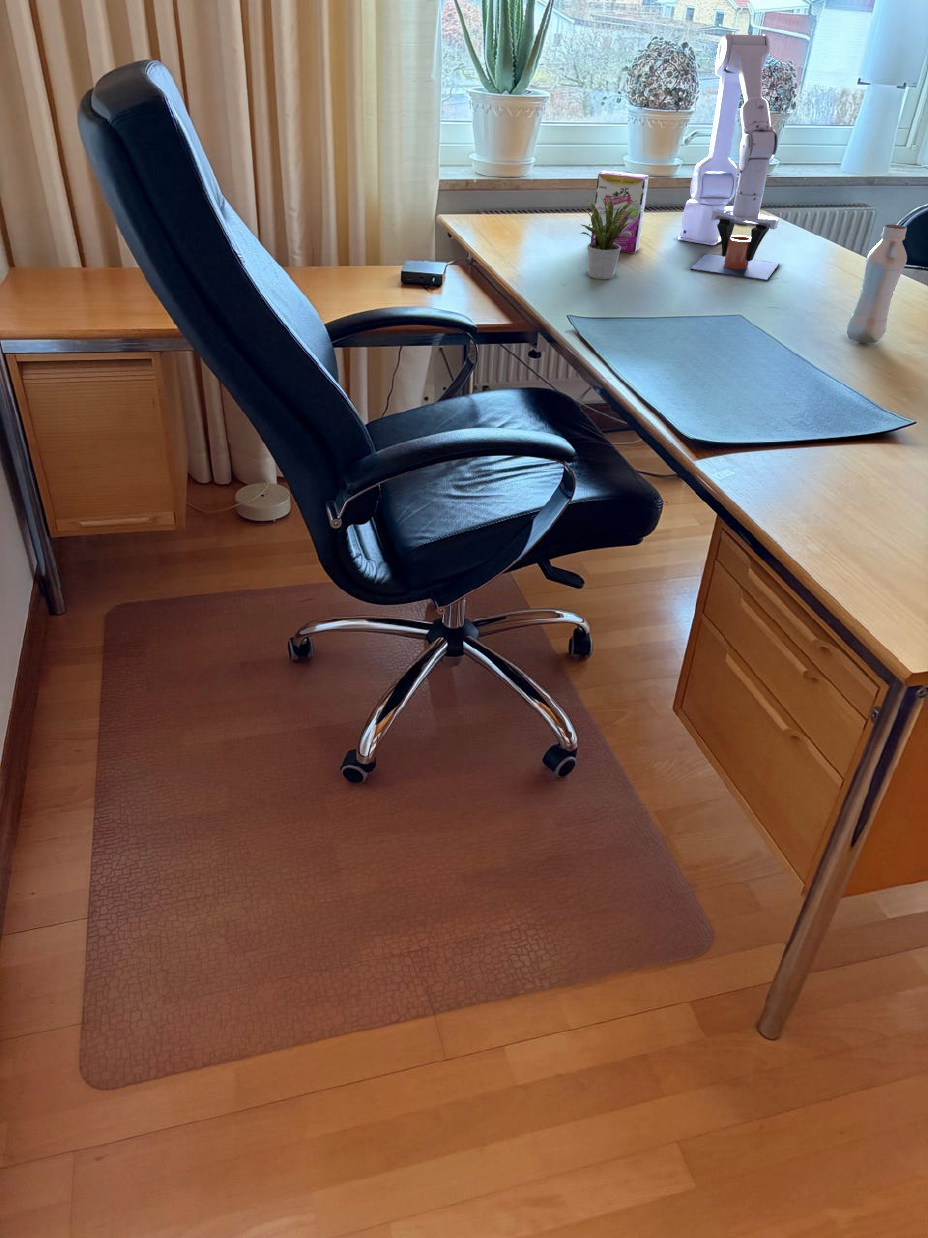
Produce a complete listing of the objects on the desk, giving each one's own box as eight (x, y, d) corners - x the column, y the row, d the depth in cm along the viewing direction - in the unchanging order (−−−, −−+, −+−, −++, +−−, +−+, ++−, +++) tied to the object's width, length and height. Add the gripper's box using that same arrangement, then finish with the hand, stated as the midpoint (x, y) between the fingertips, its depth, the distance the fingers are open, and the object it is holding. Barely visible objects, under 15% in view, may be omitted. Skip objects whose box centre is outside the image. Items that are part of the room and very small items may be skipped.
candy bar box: (589, 248, 219) (596, 173, 209) (593, 243, 222) (601, 169, 213) (635, 253, 216) (645, 177, 206) (639, 248, 220) (649, 174, 210)
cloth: (690, 269, 206) (690, 268, 206) (706, 254, 217) (706, 253, 217) (766, 280, 200) (766, 279, 200) (778, 264, 211) (779, 263, 211)
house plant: (647, 272, 203) (658, 193, 193) (629, 288, 193) (640, 205, 183) (586, 263, 208) (594, 185, 198) (565, 278, 197) (573, 197, 188)
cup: (720, 266, 208) (725, 238, 204) (728, 261, 211) (733, 234, 208) (742, 270, 205) (748, 242, 202) (750, 265, 209) (756, 237, 205)
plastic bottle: (837, 335, 171) (868, 221, 160) (872, 335, 172) (905, 222, 160) (852, 347, 166) (885, 230, 154) (888, 347, 167) (923, 231, 155)
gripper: (711, 190, 200) (700, 255, 208) (776, 200, 193) (762, 266, 201) (722, 186, 204) (711, 249, 212) (786, 195, 198) (772, 260, 206)
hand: (737, 257), depth 207 cm, fingers closed on cup, 5 cm apart
